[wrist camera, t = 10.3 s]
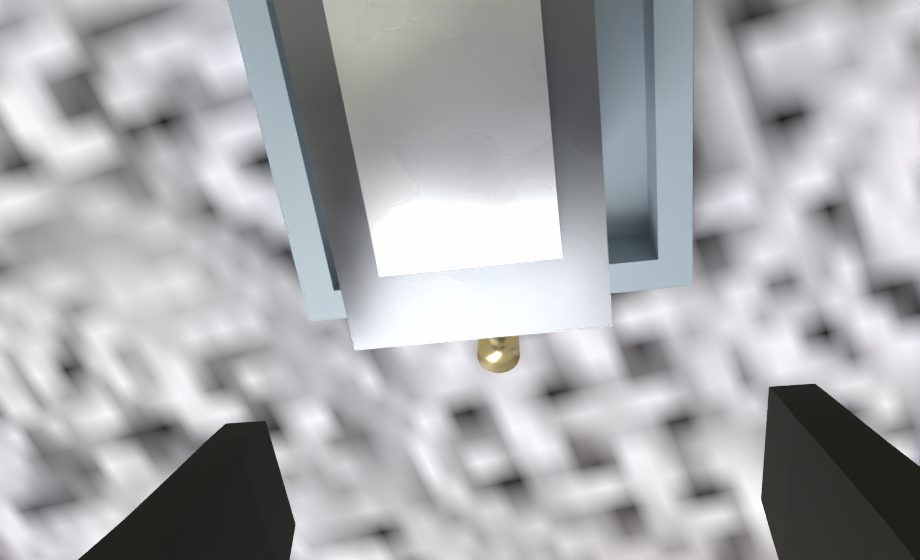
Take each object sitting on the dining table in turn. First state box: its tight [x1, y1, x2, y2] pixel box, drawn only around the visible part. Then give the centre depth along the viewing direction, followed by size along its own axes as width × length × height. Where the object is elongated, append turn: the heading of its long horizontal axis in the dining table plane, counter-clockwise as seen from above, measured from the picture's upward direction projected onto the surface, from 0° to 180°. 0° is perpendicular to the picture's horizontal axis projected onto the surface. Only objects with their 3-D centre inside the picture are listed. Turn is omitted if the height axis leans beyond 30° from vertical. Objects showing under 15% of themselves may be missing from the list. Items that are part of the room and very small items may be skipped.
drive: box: [273, 0, 612, 350], centre depth 15 cm, size 4×8×7 cm, turn 8°
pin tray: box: [228, 0, 693, 373], centre depth 17 cm, size 10×15×4 cm, turn 8°
